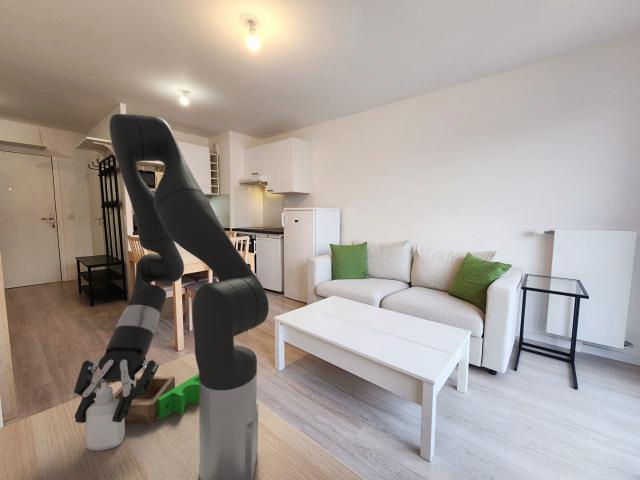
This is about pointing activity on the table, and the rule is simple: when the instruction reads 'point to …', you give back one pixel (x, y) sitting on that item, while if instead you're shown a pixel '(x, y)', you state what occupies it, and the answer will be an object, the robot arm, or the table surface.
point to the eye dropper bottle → (103, 421)
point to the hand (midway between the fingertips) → (98, 421)
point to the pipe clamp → (178, 397)
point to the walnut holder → (147, 400)
